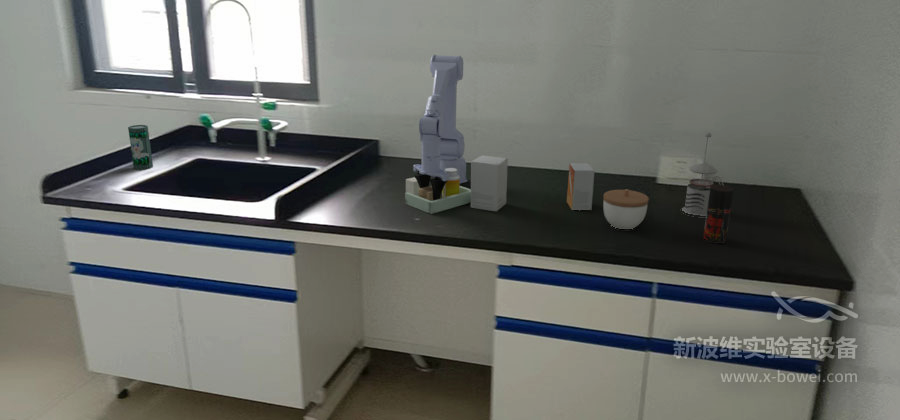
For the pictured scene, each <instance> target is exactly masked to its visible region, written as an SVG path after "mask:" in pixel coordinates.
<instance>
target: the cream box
mask: <svg viewBox="0 0 900 420" xmlns="http://www.w3.org/2000/svg"><path fill="white" fill-rule="evenodd" d="M418 189H420V187H419V184H418V182H417V180H416V178H415V176H414V177H410V178H406V179H405V193H411V194H414V195H416V196H418Z"/></svg>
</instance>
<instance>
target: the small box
mask: <svg viewBox="0 0 900 420" xmlns="http://www.w3.org/2000/svg"><path fill="white" fill-rule="evenodd" d="M595 172H596V171H595V169H594V168H593V167H592V165H590V163H585V162H584V163H582V162H581V163H569V167H568V179H567V181H568V182H567V193H566V194H567V195H566V203H567V204H568V206H569V207H570V209H571V211H572V210H579V212H581V211H580V210H591V211H592V206H593V194H594V184H595V183H594V182H595Z"/></svg>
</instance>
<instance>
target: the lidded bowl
mask: <svg viewBox="0 0 900 420" xmlns="http://www.w3.org/2000/svg"><path fill="white" fill-rule="evenodd" d="M649 200H650V199H649V196H647V194H645V193H642V192H639V191H636V190H630V189H627V188H625V189H611V190H608V191H605V192H604V194H603V202H602V203H603V205H602V207H603V215H604V218H605V219H606V221H607V222H608V224H611V225H610V227H612V226H613V227H615V228H614V229H616V228H619V229H632V230H634V229H633V228H635V227H638V226H639V225H640V224H641V223H642V222H643V221H644V219H645V218H646V214H647V210H648V205H649ZM613 227H612V228H613ZM619 229H618V230H619ZM635 229H636V228H635Z"/></svg>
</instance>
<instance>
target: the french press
mask: <svg viewBox="0 0 900 420" xmlns="http://www.w3.org/2000/svg"><path fill="white" fill-rule="evenodd" d="M704 137H706V145H705V152H704V157H703V158H704V159H703V163H697V164H693V165H690V166H689V168H688V169H689V170H690V171H691V172H692V173H696V174H699V175H700V174H701V178H700V177H699V178H691V179H689V184H687V187H686V195H685V202H684V206H683V207H682V208H681V209H682V211H684V212H685V213H688V214H693V215H700V216H706V214H707V208H708V201H709V194H710V187H711V186H713V185H715V183H714V182H715V181H717V182H718V183H719V184H718V185H724V181H723V179H722V178H720V177H719V176H718V175H715V174H716V173H717V172H718V169H717V168H716V167H714V165H710V164H707V163H705V162H706V155H707V147H708V141H709V138H712V133H710V132H705V133H704ZM704 175H715V176H713V177H712V180H709V179H705V178H703V176H704ZM719 180H720V181H721V182H720V181H719ZM704 189H705V190H704Z"/></svg>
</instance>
